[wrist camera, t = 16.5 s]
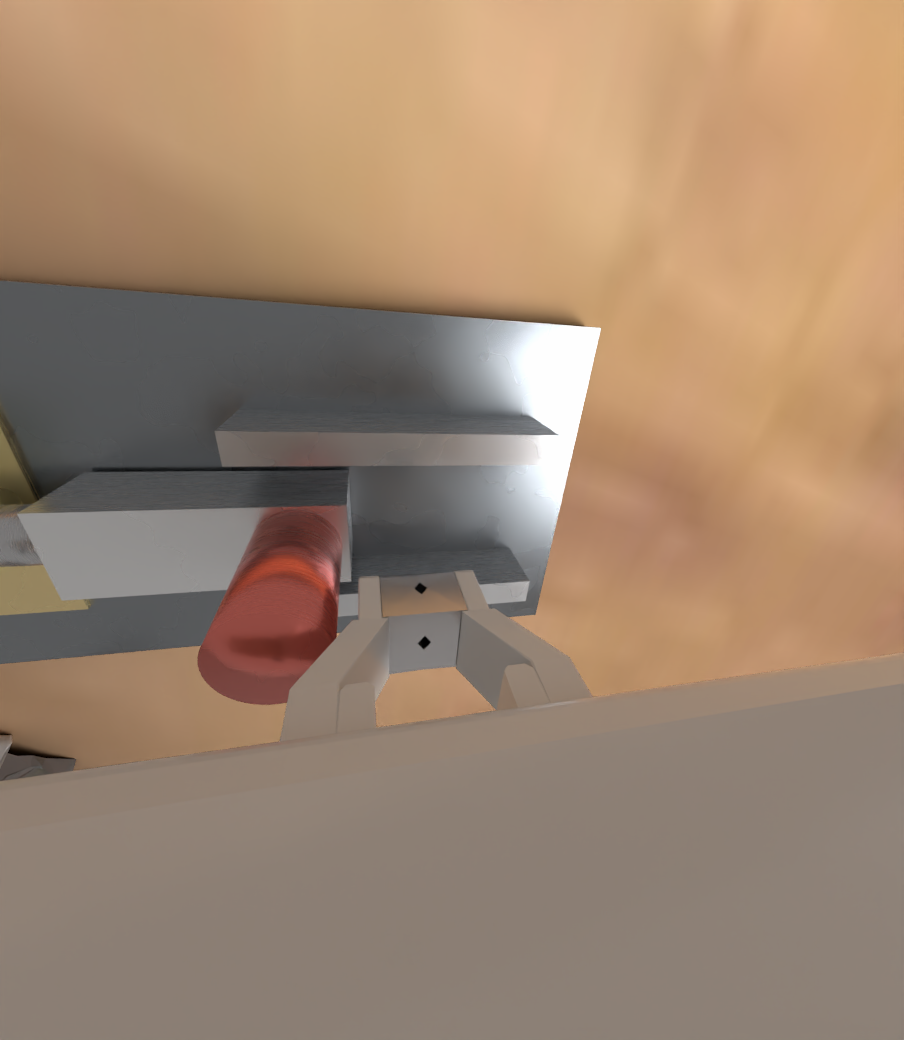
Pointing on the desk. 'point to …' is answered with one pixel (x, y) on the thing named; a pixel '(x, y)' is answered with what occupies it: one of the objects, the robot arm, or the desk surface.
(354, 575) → the press
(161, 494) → the ram
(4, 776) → the electrical switch
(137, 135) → the desk surface
